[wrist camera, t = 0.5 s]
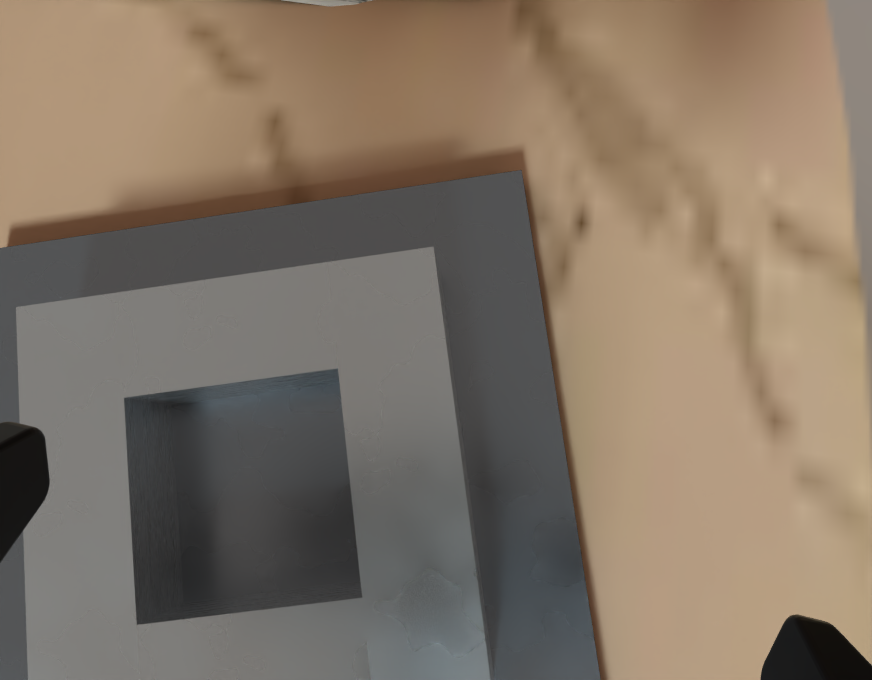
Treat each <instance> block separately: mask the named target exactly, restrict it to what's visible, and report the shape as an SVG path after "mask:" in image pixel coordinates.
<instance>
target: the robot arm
mask: <svg viewBox="0 0 872 680" xmlns="http://www.w3.org/2000/svg"><path fill="white" fill-rule="evenodd" d="M49 484H50V477H49V468H48V459H47V450H46V440H45V436H44V434H43V433H42V431H41V430H40V429H38V428H36V427H33V426H29V425H25V424H20V423H16V422H2V423H0V563H1V561H2V560H3V559H4V557H5V556H6V554H7V553H8V552H9V550H10V549H11V547H12V546H13V544H14V543H15V542H16V540H17V539H18V537H19V536H20V535H21V533H22V532H23V530H24V529H25V527H26V526H27V525H28V523H29V522H30V520H31V519H32V518H33V516H34V515H35V513H36V512H37V510H38V509H39V508H40V506H41V505H42V503H43V502H44V500H45V498H46V496H47V493H48V490H49ZM761 680H872V665H871V664H870V663H869V662H868V661H867V660H866V659H865V658H864V657H863V656H862V655H861V654H860V653H859V652H858V651H857V650H856V648H855V647H854V646H853V645H852V644H851V643H850V642H849V641H848V640H847V639H846V638H845V637H844V636H843V635H842V634H841V633H840V632H839V631H838V630H837V629H836V628H835V627H834V626H833V625H832V624H830V623H828V622H825V621H822V620H818V619H813V618H809V617H805V616H801V615H792V616H789V617H788V618H787V619H786V621H785V622H784V624H783V626H782V628H781V630H780V632H779V634H778V636H777V638H776V640H775V642H774V644H773V646H772V648H771V650H770V652H769V654H768V656H767V658H766V660H765V662H764V665H763V668H762V673H761Z"/></svg>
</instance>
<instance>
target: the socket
mask: <svg viewBox="0 0 872 680" xmlns="http://www.w3.org/2000/svg"><path fill="white" fill-rule="evenodd" d="M2 422H16V423H20V424H25V425H29V426H33V427H36V428H38V429H40V430H41V431H42V433H43V434H44V436H45V440H46V450H47V459H48V468H49V477H50V484H49V490H48V493H47V496H46V498H45V500H44V502H43V503H42V505H41V506H40V508H39V509H38V510H37V512H36V513H35V515H34V516H33V518H32V519H31V520H30V522H29V523H28V525H27V526H26V527H25V529H24V530H23V532H22V533H21V535H20V536H19V537H18V539H17V540H16V542H15V543H14V544H13V546H12V547H11V549H10V550H9V552H8V553H7V554H6V556H5V557H4V559H3V560H2V561H1V563H0V680H601V679H600V673H599V666H598V660H597V653H596V647H595V640H594V634H593V628H592V621H591V615H590V608H589V602H588V595H587V589H586V582H585V576H584V570H583V563H582V557H581V550H580V544H579V537H578V531H577V524H576V518H575V512H574V505H573V499H572V492H571V486H570V479H569V473H568V466H567V460H566V453H565V447H564V441H563V434H562V428H561V421H560V415H559V408H558V402H557V395H556V389H555V383H554V376H553V370H552V363H551V357H550V350H549V344H548V337H547V331H546V325H545V318H544V312H543V305H542V299H541V292H540V286H539V279H538V273H537V267H536V260H535V254H534V247H533V241H532V234H531V228H530V221H529V215H528V209H527V202H526V196H525V189H524V183H523V176H522V170H518V171H512V172H505V173H498V174H492V175H485V176H478V177H472V178H465V179H458V180H452V181H445V182H438V183H432V184H425V185H418V186H412V187H405V188H398V189H392V190H385V191H378V192H371V193H365V194H358V195H351V196H345V197H338V198H331V199H325V200H318V201H311V202H305V203H298V204H291V205H285V206H278V207H271V208H265V209H258V210H251V211H245V212H238V213H231V214H224V215H218V216H211V217H204V218H198V219H191V220H184V221H178V222H171V223H164V224H158V225H151V226H144V227H138V228H131V229H124V230H118V231H111V232H104V233H98V234H91V235H84V236H77V237H71V238H64V239H57V240H51V241H44V242H37V243H31V244H24V245H17V246H11V247H4V248H0V423H2Z"/></svg>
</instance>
